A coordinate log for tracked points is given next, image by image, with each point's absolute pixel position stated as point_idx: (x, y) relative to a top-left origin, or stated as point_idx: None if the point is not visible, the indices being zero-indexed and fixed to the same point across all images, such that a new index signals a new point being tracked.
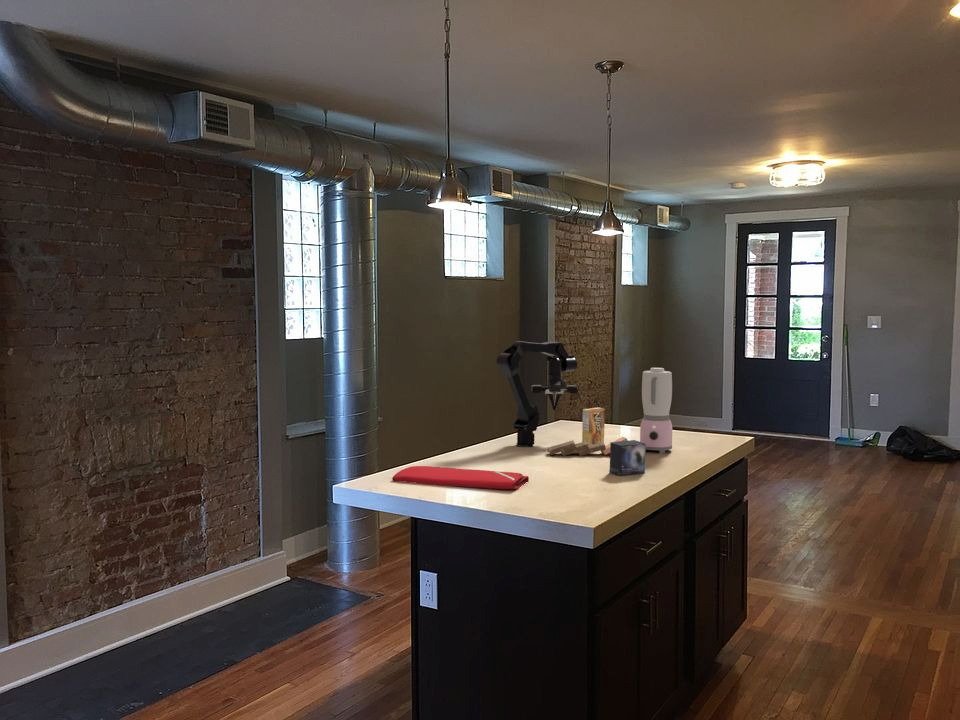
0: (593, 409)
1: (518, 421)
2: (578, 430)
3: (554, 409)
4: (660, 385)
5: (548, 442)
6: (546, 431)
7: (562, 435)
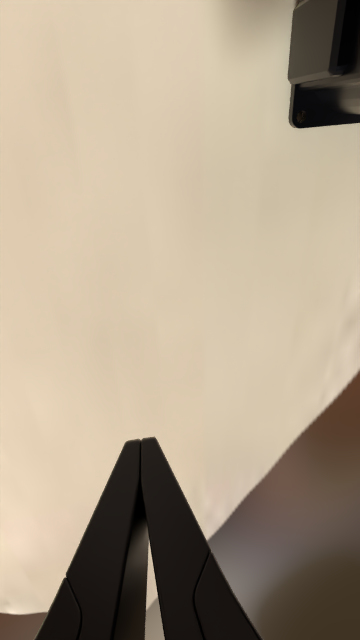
0: None
1: None
2: (63, 530)
3: (137, 444)
4: None
5: (171, 219)
6: (194, 489)
7: (113, 434)
